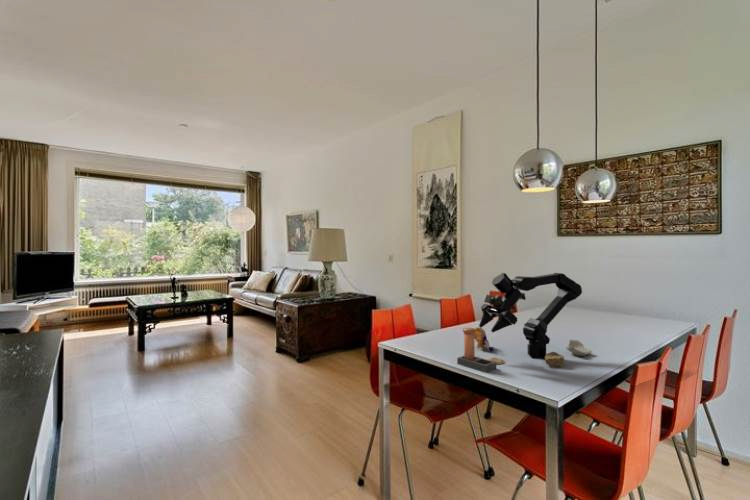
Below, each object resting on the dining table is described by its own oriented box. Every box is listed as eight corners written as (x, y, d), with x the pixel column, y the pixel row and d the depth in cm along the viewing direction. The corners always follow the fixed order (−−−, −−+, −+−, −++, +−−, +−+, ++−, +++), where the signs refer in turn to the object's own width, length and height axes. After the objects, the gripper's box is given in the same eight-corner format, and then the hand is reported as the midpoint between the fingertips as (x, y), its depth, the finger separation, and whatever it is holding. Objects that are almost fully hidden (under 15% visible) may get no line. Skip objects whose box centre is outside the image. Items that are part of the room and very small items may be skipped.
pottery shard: (575, 358, 152) (575, 346, 152) (556, 351, 162) (556, 340, 162) (596, 356, 154) (596, 345, 154) (576, 349, 165) (576, 338, 165)
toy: (493, 340, 159) (480, 318, 170) (478, 345, 159) (466, 323, 171) (496, 356, 166) (483, 334, 177) (482, 361, 167) (470, 339, 178)
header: (467, 360, 151) (467, 354, 151) (496, 368, 141) (496, 362, 141) (457, 363, 147) (457, 357, 147) (485, 372, 137) (485, 365, 137)
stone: (537, 359, 155) (540, 347, 155) (556, 363, 153) (558, 351, 153) (544, 366, 142) (546, 353, 142) (564, 371, 140) (567, 358, 140)
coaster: (501, 358, 153) (501, 357, 153) (506, 364, 145) (506, 363, 145) (482, 358, 154) (482, 357, 154) (486, 364, 146) (486, 363, 146)
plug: (474, 362, 149) (474, 327, 149) (476, 366, 144) (476, 330, 144) (462, 362, 149) (462, 327, 149) (464, 366, 144) (463, 330, 144)
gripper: (484, 285, 159) (462, 312, 157) (509, 290, 141) (485, 320, 139) (500, 302, 161) (478, 329, 159) (527, 309, 143) (503, 339, 141)
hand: (485, 329), depth 149 cm, fingers open, 9 cm apart
